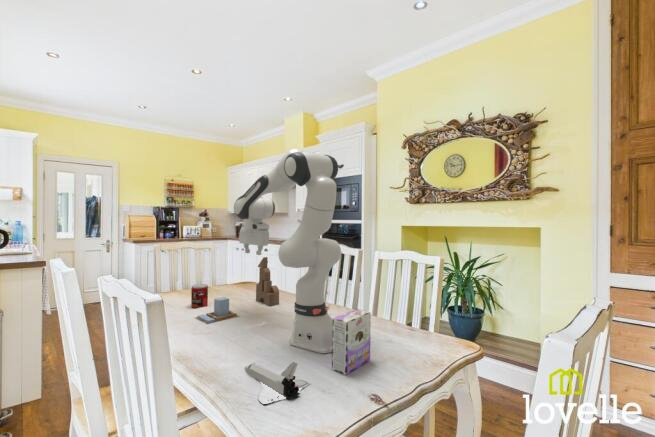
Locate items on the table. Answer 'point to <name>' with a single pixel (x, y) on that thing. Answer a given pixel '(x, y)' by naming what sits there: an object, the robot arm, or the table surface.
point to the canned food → (199, 295)
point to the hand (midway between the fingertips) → (253, 254)
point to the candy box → (350, 341)
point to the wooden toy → (266, 286)
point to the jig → (217, 319)
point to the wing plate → (206, 318)
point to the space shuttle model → (278, 379)
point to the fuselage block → (221, 307)
